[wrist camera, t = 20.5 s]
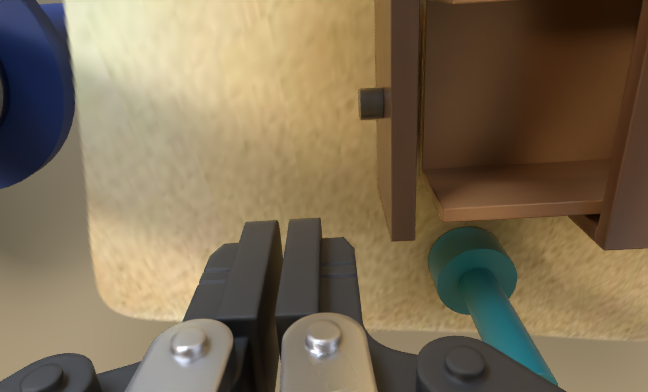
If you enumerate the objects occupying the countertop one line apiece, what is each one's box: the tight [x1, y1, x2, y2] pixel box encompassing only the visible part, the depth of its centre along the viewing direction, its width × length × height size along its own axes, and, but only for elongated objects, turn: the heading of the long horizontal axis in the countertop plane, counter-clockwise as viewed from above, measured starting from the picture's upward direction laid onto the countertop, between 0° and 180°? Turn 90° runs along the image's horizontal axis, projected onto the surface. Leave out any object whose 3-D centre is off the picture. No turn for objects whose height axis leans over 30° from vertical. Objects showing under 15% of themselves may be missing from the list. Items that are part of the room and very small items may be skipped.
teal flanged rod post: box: [428, 227, 558, 386], centre depth 28 cm, size 5×5×12 cm
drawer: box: [358, 0, 643, 242], centre depth 24 cm, size 16×13×7 cm
